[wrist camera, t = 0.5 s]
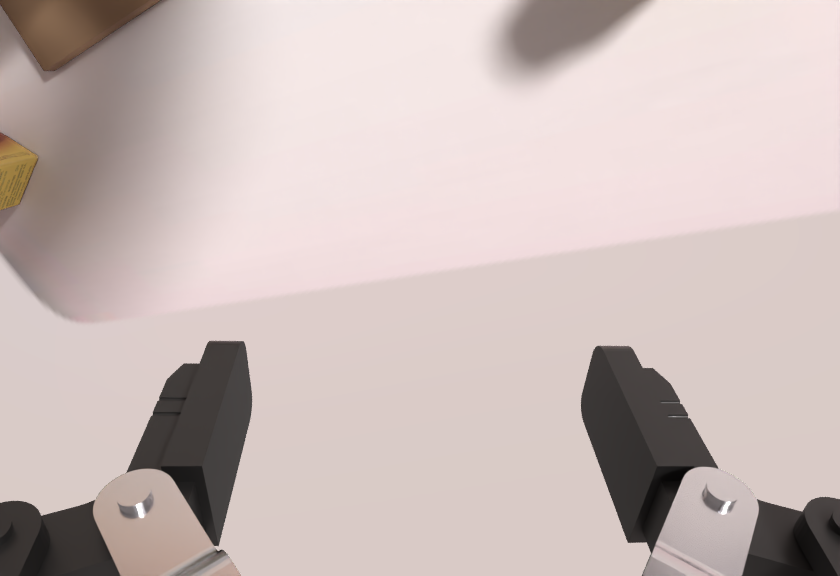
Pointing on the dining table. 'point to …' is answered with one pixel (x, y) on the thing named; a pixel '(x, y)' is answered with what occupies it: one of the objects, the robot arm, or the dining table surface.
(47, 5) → the walnut board
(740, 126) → the dining table surface
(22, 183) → the candy box
